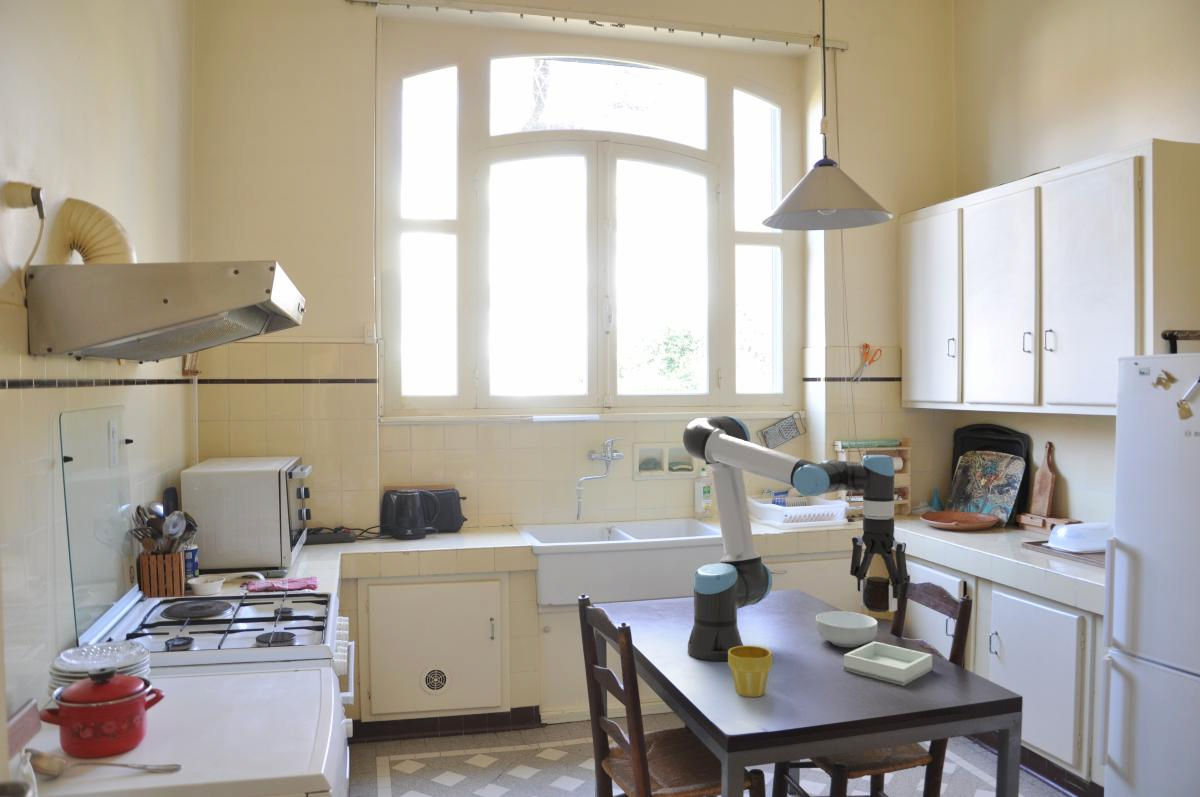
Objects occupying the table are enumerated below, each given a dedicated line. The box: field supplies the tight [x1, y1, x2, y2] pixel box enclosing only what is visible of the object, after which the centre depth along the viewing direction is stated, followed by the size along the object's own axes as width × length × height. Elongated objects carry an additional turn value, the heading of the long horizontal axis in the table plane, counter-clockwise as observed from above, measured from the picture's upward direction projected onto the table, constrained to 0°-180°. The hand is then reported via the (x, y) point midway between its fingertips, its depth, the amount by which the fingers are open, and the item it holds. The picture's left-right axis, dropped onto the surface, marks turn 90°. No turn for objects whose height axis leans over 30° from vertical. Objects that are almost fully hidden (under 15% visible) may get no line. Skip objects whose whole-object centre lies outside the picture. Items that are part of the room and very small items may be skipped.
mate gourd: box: [863, 575, 891, 613], centre depth 215 cm, size 7×8×10 cm
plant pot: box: [727, 645, 773, 698], centre depth 204 cm, size 10×10×10 cm
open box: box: [843, 640, 933, 687], centre depth 219 cm, size 16×16×4 cm
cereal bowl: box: [815, 610, 878, 648], centre depth 242 cm, size 17×17×7 cm
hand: (878, 607), depth 215 cm, fingers closed on mate gourd, 7 cm apart
